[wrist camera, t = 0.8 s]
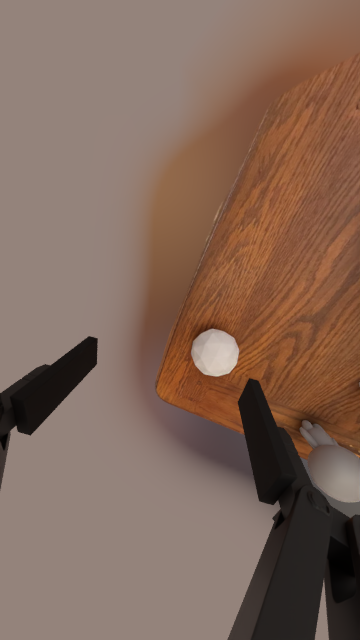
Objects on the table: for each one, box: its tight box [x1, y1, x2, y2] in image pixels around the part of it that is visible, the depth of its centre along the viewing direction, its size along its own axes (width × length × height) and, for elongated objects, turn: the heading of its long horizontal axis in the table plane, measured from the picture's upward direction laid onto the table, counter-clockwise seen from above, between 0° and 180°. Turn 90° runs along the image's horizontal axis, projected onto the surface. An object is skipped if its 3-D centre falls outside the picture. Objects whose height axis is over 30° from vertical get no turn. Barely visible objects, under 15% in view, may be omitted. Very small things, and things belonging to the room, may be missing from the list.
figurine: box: [299, 420, 360, 502], centre depth 32 cm, size 8×8×12 cm
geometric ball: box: [191, 329, 239, 377], centre depth 29 cm, size 8×8×8 cm
